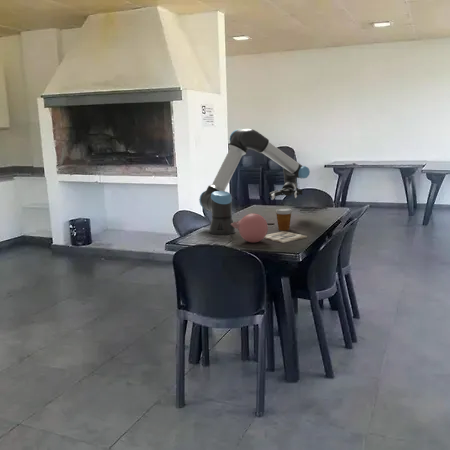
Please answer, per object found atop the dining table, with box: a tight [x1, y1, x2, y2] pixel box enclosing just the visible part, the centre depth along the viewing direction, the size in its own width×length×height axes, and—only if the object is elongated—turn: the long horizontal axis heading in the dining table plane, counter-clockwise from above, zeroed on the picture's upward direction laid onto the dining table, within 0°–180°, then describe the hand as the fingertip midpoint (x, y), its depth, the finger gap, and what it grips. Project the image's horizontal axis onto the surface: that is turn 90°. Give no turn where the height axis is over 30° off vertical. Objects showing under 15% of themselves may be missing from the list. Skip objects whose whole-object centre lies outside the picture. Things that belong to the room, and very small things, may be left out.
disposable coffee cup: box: [275, 207, 293, 232], centre depth 306 cm, size 10×10×12 cm
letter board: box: [263, 231, 308, 244], centre depth 287 cm, size 18×18×1 cm
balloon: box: [231, 212, 269, 244], centre depth 278 cm, size 15×20×15 cm
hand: (283, 196), depth 309 cm, fingers open, 13 cm apart
